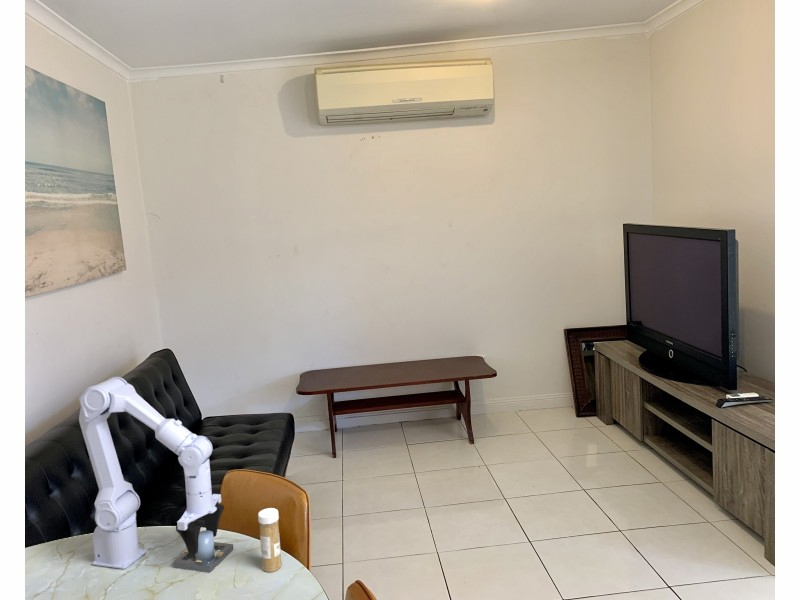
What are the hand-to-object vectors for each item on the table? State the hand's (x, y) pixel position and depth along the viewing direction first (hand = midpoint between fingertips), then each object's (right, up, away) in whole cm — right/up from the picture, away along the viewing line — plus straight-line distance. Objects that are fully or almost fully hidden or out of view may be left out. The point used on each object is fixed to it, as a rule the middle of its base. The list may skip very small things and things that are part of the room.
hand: (202, 544), depth 135 cm
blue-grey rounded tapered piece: (+1, -4, 0) cm, 4 cm away
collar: (0, -4, 0) cm, 4 cm away
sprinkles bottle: (+18, -4, -4) cm, 18 cm away
